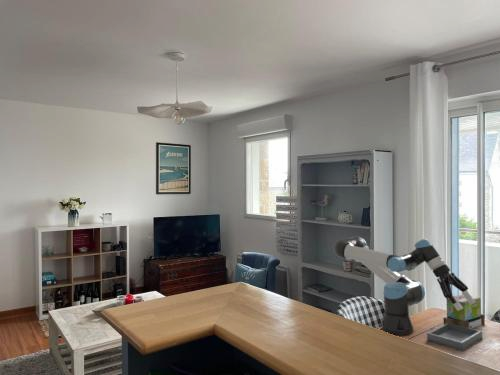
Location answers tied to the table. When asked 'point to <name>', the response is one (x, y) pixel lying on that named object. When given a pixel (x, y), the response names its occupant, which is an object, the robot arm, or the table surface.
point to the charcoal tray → (454, 336)
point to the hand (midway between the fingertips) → (466, 306)
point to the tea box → (465, 311)
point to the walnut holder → (461, 323)
